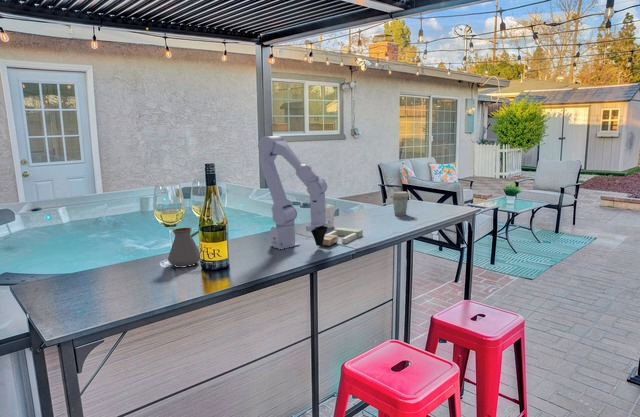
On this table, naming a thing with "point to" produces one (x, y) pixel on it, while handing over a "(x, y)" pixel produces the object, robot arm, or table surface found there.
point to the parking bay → (347, 233)
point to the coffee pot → (184, 248)
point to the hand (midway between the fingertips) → (319, 245)
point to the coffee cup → (400, 202)
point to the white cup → (330, 215)
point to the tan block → (330, 240)
